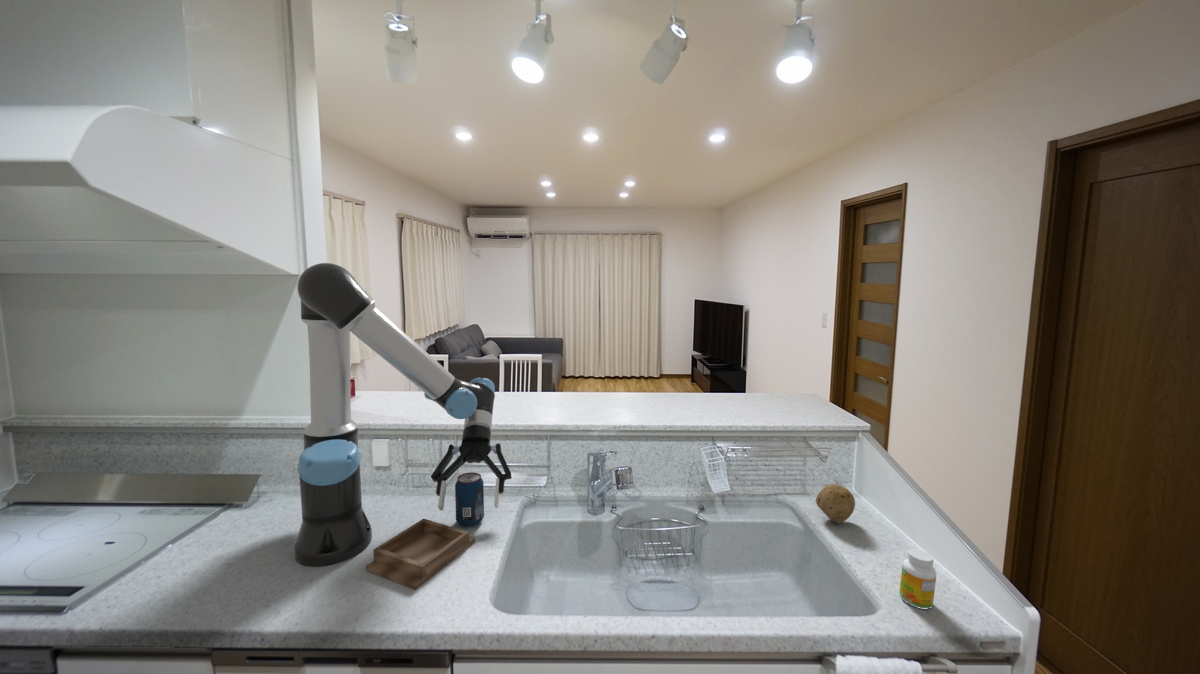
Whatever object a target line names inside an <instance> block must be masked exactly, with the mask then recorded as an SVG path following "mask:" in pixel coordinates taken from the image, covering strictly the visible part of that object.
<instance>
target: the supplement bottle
mask: <svg viewBox="0 0 1200 674" xmlns="http://www.w3.org/2000/svg"><path fill="white" fill-rule="evenodd" d="M933 566H934V556H932V554H930V553H928V552H927V551H925V550H922V549H918V548H910V549H908V551H907V558H906V559H904V560H903V561H902V565H901V576H900V582H899V583H900V584H899V592H898V593H899V597H900V596H901V597H900V599H901V598H902V599H903V600H904V601H906V602H908V603H909V604H911V605H913V606H916V607H920V608H930V607H932V608H933V606H934V599H935V591H936V581H937V571H936V569H935V568H934V567H933ZM903 600H902V601H903ZM904 601H903V602H904ZM906 602H905V603H906ZM909 604H908V605H909Z"/></svg>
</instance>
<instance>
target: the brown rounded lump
mask: <svg viewBox="0 0 1200 674" xmlns="http://www.w3.org/2000/svg"><path fill="white" fill-rule="evenodd" d="M815 503H816V505H817V507H818V509H819V510H821V511H822V512H823V513H824V514H825V515H826V516H827V518H828V519H829V520H830V521H832V522H833V521H834V522H833V523H835V522H837V523H836V524H840V523H841V524H842V523H843V522H845V521H847V520H848V519H849V518H850V517H851V515H852V514H853V513H854V510H855V508H856V500H855V497H854V495H853V494H852V492H851V490H849V489H848V488H846V487H845V486H843V485H841V484H838V483H831V484H827V485H825V486H824V487H823V488H822V489H821V490H820V491H819V493H818V494H817V495H816V497H815Z"/></svg>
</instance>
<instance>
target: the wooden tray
mask: <svg viewBox="0 0 1200 674" xmlns="http://www.w3.org/2000/svg"><path fill="white" fill-rule="evenodd" d="M475 542H476V537H474V536H470V532H469V531H466V530H462V529H459V528H456V527H453V526H450V525H446V524H444V523H440V522H437V521H434V520H430V519H427V518H422V519H420V520H419V521H417V522H415V523H414V524H413V525H412V524H411V526H409V527H407V528H405V530H403V531H401V532H399V533H398V534H397V535H395V536H393V537H391V538H389V540H386V541H385V542H383V543H381V544H380V545H379V546H377V547H375V548H373V561H371V562H369V563H368V564H365V571H366V572H369V573H372V574H375V575H377V576H378V577H379V576H380V577H382V578H385V579H387V580H390V581H393V582H395V583H398V584H400V585H403V586H404V587H407V588H410V589H412V590H416V589H418V588H419V587H421V585H423V584H424V583H425V582H427V581H428V580H430V578H431V577H433V576H435V575H436V574H437V573H438V572H439V571H441V570H442V569H444V567H445V566H447V565H448V564H449V563H451V562H452V561H453V560H454V559H455V558H456V557H458V556H459V555H461V554H462V553H463V552H465V550H467V549H468V548H469V547H471V546H472V545H473V544H475Z"/></svg>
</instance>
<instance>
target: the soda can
mask: <svg viewBox="0 0 1200 674" xmlns="http://www.w3.org/2000/svg"><path fill="white" fill-rule="evenodd" d="M484 487H485V486H484V480H483V478H482V476H481V473H478V472H474V471H473V472H465V473H462V474H459V475H458V476H457V480H456V482H455V484H454V489H455V490H454V492H455V493H454V496H455V521H456V523H457V524H458V525H459V526H460V527H462V528H465V529H467V528H473V527H476V526H478V525H480V524H481V523H482V521H483V519H484V517H485V499H484V497H485V493H484V492H485V489H484Z"/></svg>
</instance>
